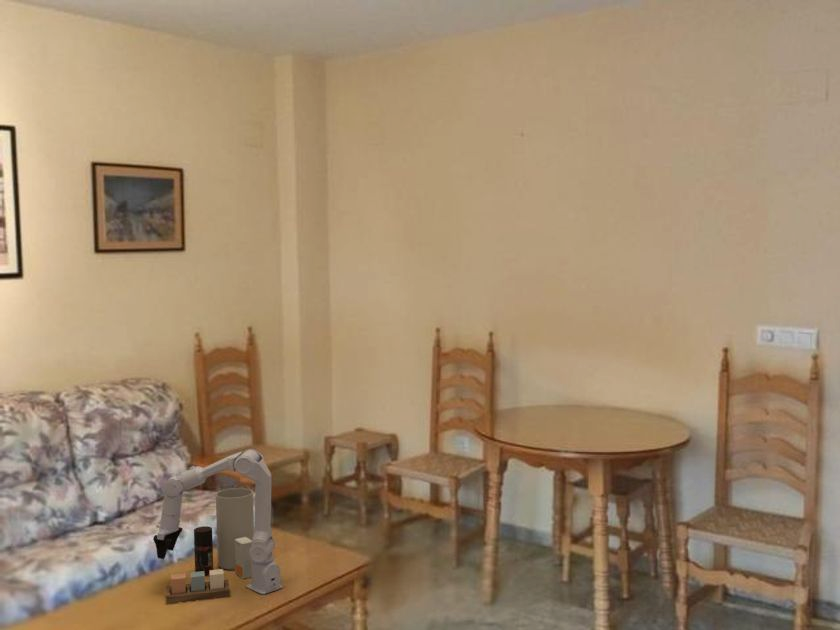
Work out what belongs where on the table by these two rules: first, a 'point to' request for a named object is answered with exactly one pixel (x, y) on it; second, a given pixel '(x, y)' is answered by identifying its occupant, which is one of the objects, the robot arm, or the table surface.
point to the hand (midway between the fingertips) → (165, 553)
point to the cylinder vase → (233, 522)
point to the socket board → (197, 593)
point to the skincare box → (243, 557)
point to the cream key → (216, 579)
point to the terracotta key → (178, 583)
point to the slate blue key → (197, 581)
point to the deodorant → (203, 549)
